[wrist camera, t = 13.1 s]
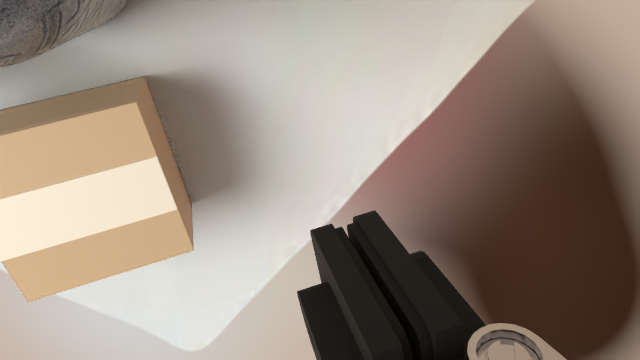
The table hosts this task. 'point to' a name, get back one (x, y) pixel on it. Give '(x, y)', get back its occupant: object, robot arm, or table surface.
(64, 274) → the lid
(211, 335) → the table surface
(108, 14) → the vase
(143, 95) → the box
